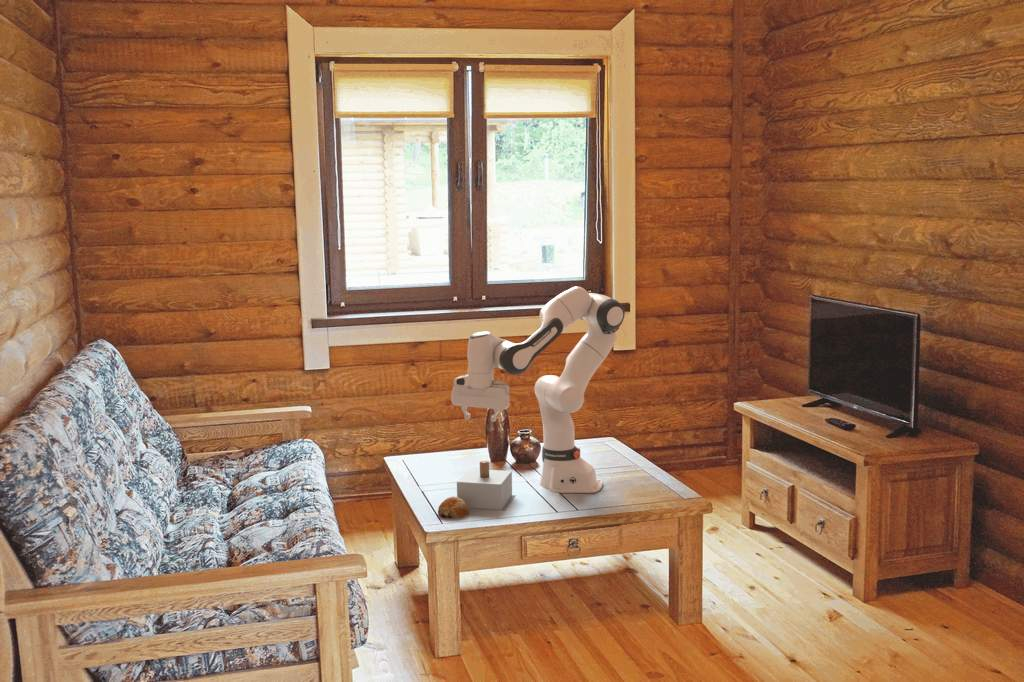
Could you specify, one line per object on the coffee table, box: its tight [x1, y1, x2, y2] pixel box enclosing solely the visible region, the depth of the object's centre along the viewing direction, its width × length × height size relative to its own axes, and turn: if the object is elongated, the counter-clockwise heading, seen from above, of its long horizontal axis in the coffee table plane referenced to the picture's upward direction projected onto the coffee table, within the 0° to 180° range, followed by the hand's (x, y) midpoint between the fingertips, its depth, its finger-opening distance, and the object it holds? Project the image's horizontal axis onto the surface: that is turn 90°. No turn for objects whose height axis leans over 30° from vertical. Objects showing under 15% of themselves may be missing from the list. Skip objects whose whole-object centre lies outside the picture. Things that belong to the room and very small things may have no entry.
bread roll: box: [437, 496, 470, 519], centre depth 338 cm, size 10×10×8 cm
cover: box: [456, 460, 513, 511], centre depth 349 cm, size 15×15×14 cm
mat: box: [470, 494, 517, 512], centre depth 350 cm, size 18×16×1 cm
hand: (480, 420), depth 347 cm, fingers open, 8 cm apart
